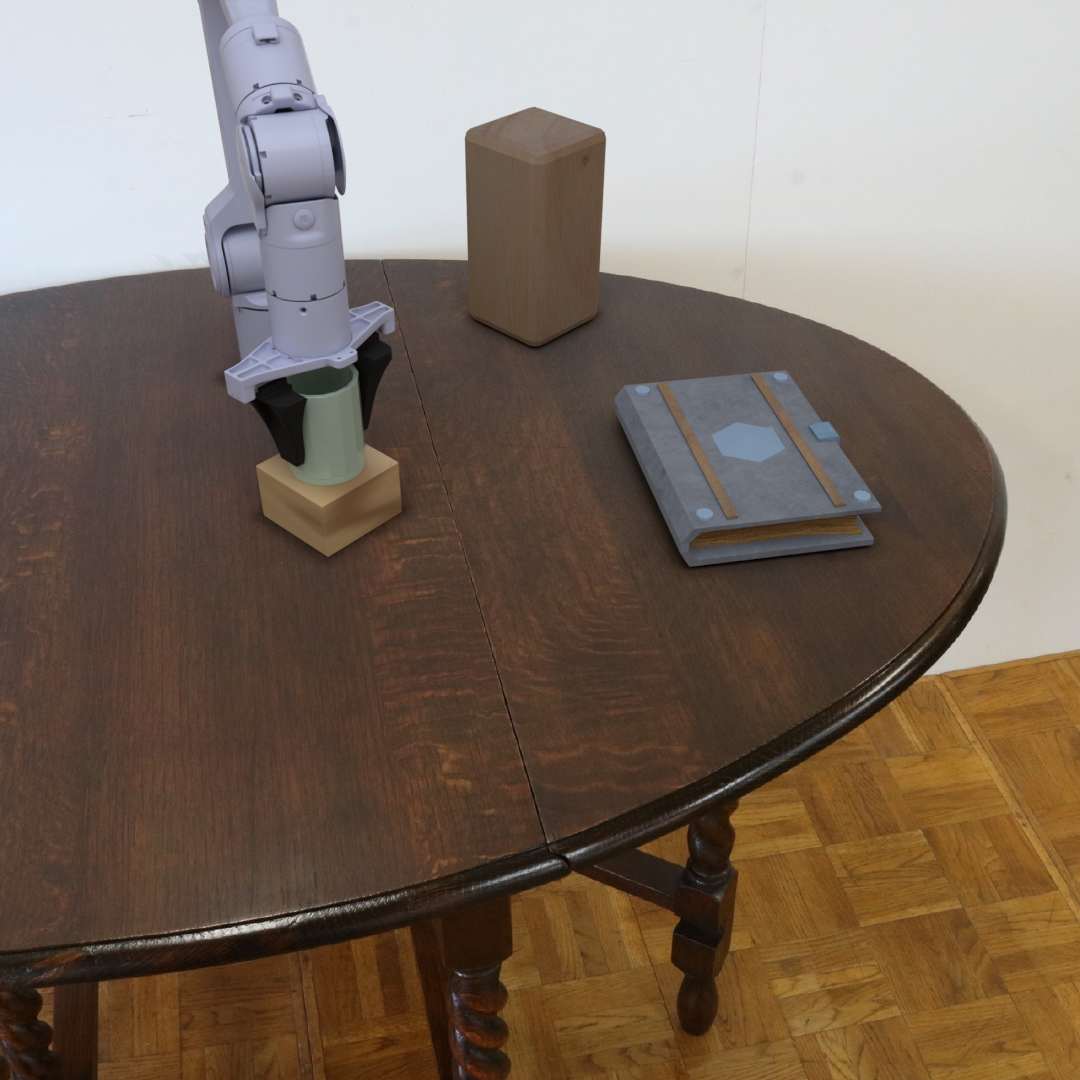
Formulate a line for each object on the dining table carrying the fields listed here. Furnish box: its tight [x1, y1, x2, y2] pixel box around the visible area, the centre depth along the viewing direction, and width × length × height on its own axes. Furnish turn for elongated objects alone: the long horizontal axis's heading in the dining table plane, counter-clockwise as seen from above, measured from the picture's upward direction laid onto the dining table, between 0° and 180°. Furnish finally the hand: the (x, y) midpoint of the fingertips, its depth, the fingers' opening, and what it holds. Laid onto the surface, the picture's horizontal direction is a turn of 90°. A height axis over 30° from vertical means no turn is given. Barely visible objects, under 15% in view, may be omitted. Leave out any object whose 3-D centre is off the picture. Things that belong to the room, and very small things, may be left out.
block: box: [255, 443, 403, 558], centre depth 96 cm, size 8×8×5 cm
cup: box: [287, 364, 366, 486], centre depth 91 cm, size 6×6×8 cm
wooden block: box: [464, 106, 607, 347], centre depth 117 cm, size 10×10×20 cm
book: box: [613, 369, 883, 567], centre depth 100 cm, size 21×16×5 cm
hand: (324, 442), depth 93 cm, fingers closed on cup, 6 cm apart
